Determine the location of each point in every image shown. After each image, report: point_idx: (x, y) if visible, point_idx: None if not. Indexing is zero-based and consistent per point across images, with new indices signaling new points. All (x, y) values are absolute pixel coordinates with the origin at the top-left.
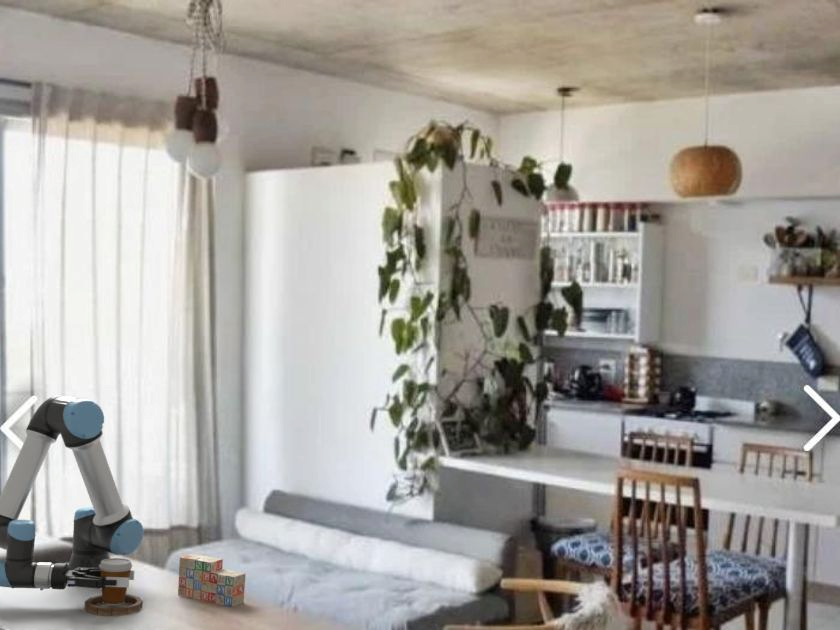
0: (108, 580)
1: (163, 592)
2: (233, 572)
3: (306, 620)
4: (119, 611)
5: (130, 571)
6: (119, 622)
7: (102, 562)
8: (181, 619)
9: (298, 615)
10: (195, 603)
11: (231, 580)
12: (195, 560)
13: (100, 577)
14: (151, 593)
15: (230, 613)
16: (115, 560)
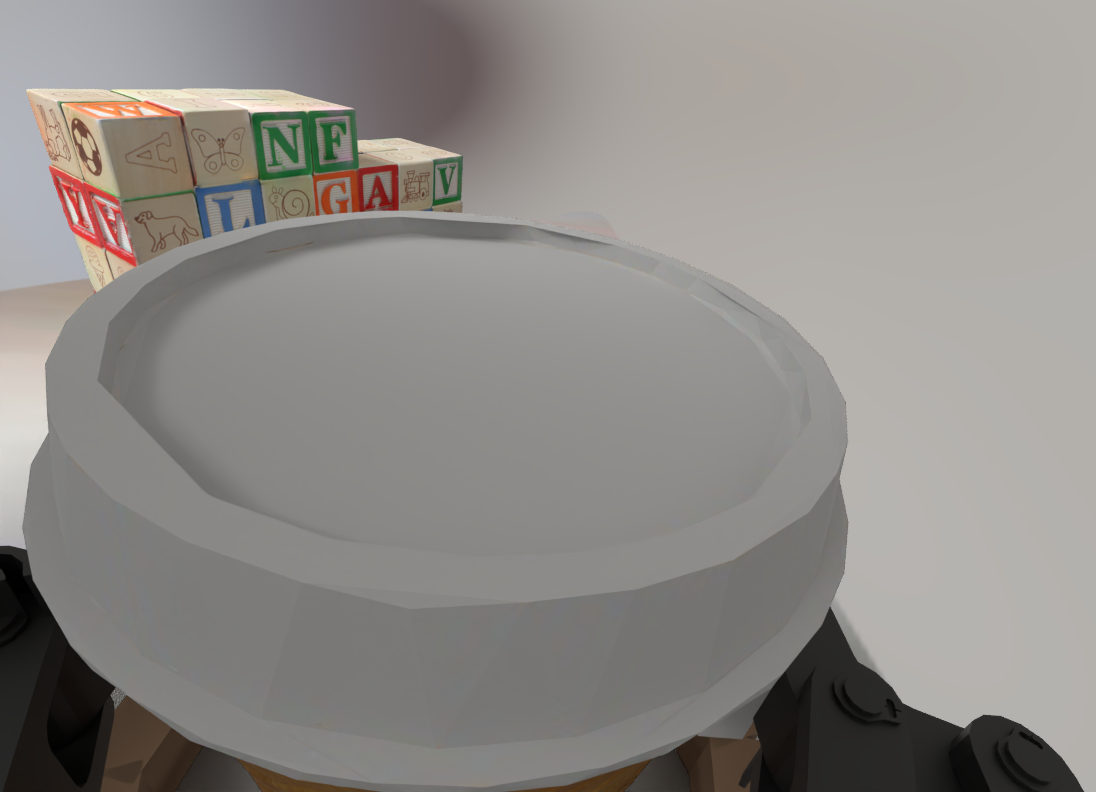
0: (825, 618)
1: (39, 435)
2: (380, 144)
3: (592, 220)
4: None
5: None
6: (883, 678)
7: (722, 540)
8: None
9: (548, 220)
10: None
11: (452, 175)
12: (255, 116)
13: (837, 776)
14: (11, 497)
15: None
16: (250, 332)
